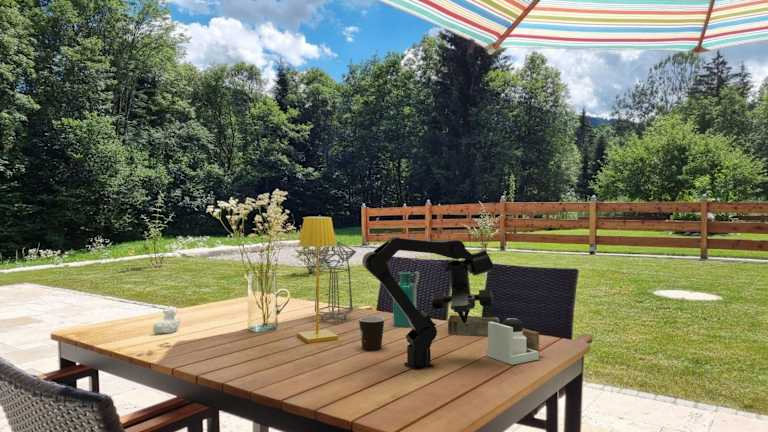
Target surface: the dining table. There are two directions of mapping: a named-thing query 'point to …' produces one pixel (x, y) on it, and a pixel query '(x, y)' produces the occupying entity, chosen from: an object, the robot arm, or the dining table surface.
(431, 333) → the robot arm
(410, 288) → the teal tall bottle shape
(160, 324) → the bust
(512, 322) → the medicine bottle
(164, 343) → the dining table surface
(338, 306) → the geometric lantern
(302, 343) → the dining table surface
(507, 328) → the white angle bracket
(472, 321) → the beverage carton
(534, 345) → the wall
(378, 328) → the coffee mug
